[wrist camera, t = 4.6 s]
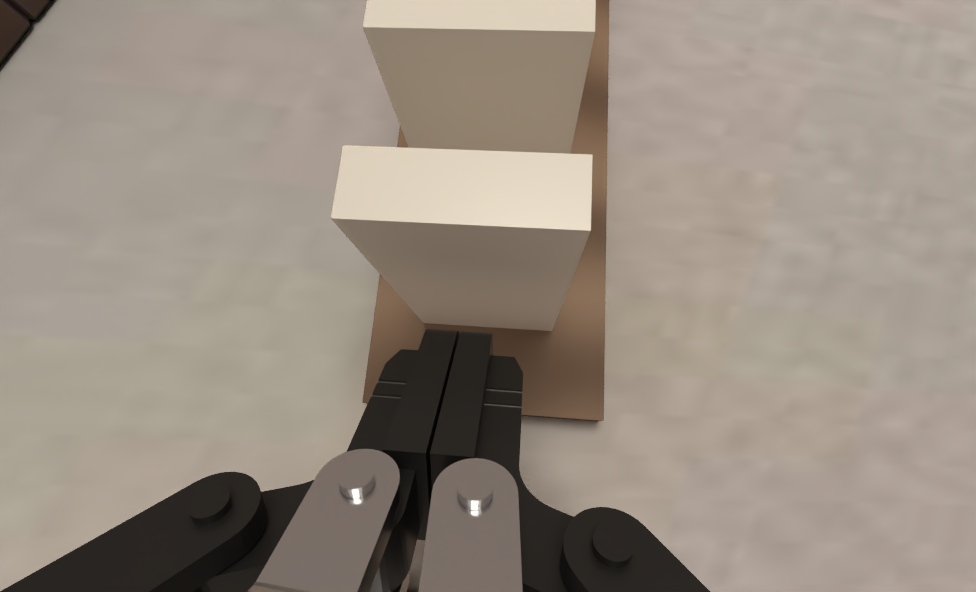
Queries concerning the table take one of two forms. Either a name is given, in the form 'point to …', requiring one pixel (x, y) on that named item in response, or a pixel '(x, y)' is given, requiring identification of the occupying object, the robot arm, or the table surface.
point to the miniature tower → (16, 21)
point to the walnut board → (581, 320)
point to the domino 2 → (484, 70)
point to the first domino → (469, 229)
